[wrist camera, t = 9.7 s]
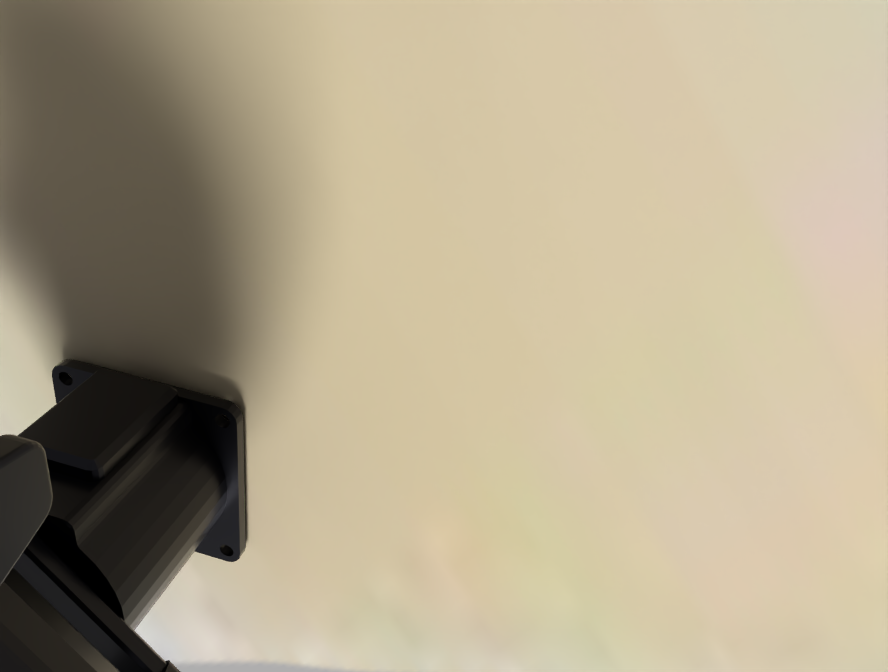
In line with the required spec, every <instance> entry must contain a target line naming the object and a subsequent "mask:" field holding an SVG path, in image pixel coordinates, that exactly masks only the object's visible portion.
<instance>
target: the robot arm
mask: <svg viewBox="0 0 888 672" xmlns="http://www.w3.org/2000/svg"><path fill="white" fill-rule="evenodd" d="M68 374H69V375H70V376H71V377H72V378H71V377H70V376H69V375H68ZM52 378H53V384H54V390H55V397H56V403H57V404H56V405H55V406H54V407H52V408H51V409H50V410H49V411H47V412H46V413H45V414H44V415H43V416H41V417H40V418H39V419H38V420H36V421H35V422H34V423H33V424H31V425H30V426H29V427H28V428H27V429H25V430H24V431H23V432H22V433H20V434H19V435H18V436H16V435H2V436H0V672H180V671H179V670H178V669H177V668H176V667H175V666H174V665H173V664H172V663H171V662H170V661H169V660H168V661H164V660H163V659H162V658H161V657H160V656H159V655H158V654H157V653H156V652H155V651H154V650H153V649H152V648H151V647H150V646H149V645H148V644H147V643H146V642H145V641H144V640H143V639H142V638H141V637H140V636H139V635H138V634H137V633H136V632H135V631H134V630H135V629H136V627H137V626H138V625H139V623H140V622H141V621H142V619H143V618H144V617H145V616H146V614H147V613H148V612H149V610H150V609H151V608H152V606H153V605H154V604H155V602H156V601H157V600H158V598H159V597H160V596H161V595H162V593H163V592H164V591H165V589H166V588H167V587H168V585H169V584H170V583H171V581H172V580H173V579H174V577H175V576H176V575H177V574H178V572H179V571H180V570H181V568H182V567H183V566H184V564H185V563H186V562H187V560H188V559H189V558H190V557H191V555H192V554H193V553H194V551H195V552H199V553H202V554H205V555H209V556H212V557H215V558H218V559H222V560H225V561H230V562H234V561H237V560H238V559H239V558H240V556H241V555H242V553H243V552H244V551H245V547H246V541H245V487H244V433H243V415H242V412H241V410H240V409H239V407H238V406H236V405H235V404H234V403H232V402H230V401H227V400H223V399H220V398H216V397H212V396H208V395H204V394H201V393H197V392H193V391H189V390H186V389H182V388H178V387H174V386H170V385H167V384H163V383H159V382H155V381H151V380H148V379H144V378H140V377H136V376H133V375H129V374H125V373H121V372H117V371H114V370H110V369H106V368H102V367H98V366H95V365H91V364H87V363H83V362H80V361H76V360H72V359H66V360H64V361H62V362H61V363H59V364H58V365H57V366H55V367H54V369H53V370H52ZM222 414H223V415H225V416H226V417H227V418H228V419H229V420H227V419H225V418H224V417H223V416H222Z"/></svg>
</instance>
